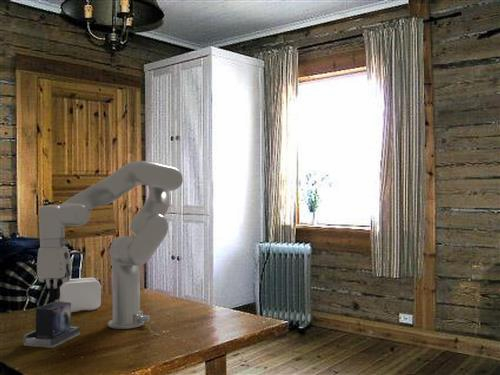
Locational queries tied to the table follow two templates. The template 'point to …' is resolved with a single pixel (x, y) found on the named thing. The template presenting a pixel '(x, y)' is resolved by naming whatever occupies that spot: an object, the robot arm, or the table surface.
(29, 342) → the rail seat
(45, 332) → the small box
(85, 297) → the cable organizer
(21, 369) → the table surface
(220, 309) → the table surface
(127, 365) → the table surface
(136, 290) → the robot arm
